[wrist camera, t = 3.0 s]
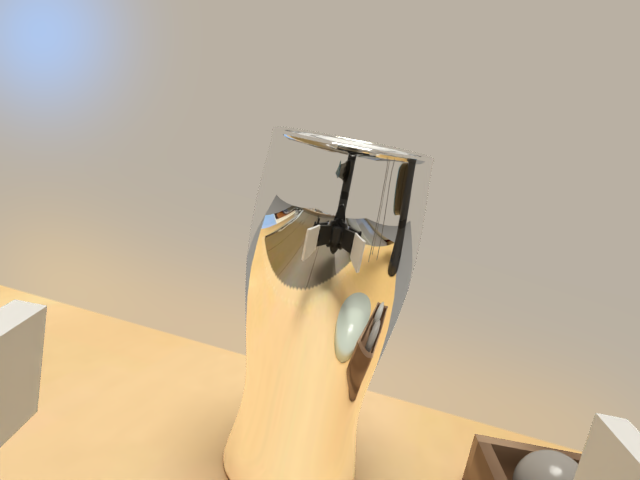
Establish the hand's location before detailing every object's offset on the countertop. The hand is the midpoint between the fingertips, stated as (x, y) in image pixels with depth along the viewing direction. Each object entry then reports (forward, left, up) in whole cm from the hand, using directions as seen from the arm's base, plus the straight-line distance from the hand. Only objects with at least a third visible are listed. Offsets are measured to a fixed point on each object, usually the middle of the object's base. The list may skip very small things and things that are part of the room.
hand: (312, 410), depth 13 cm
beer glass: (0, -11, -9) cm, 14 cm away
